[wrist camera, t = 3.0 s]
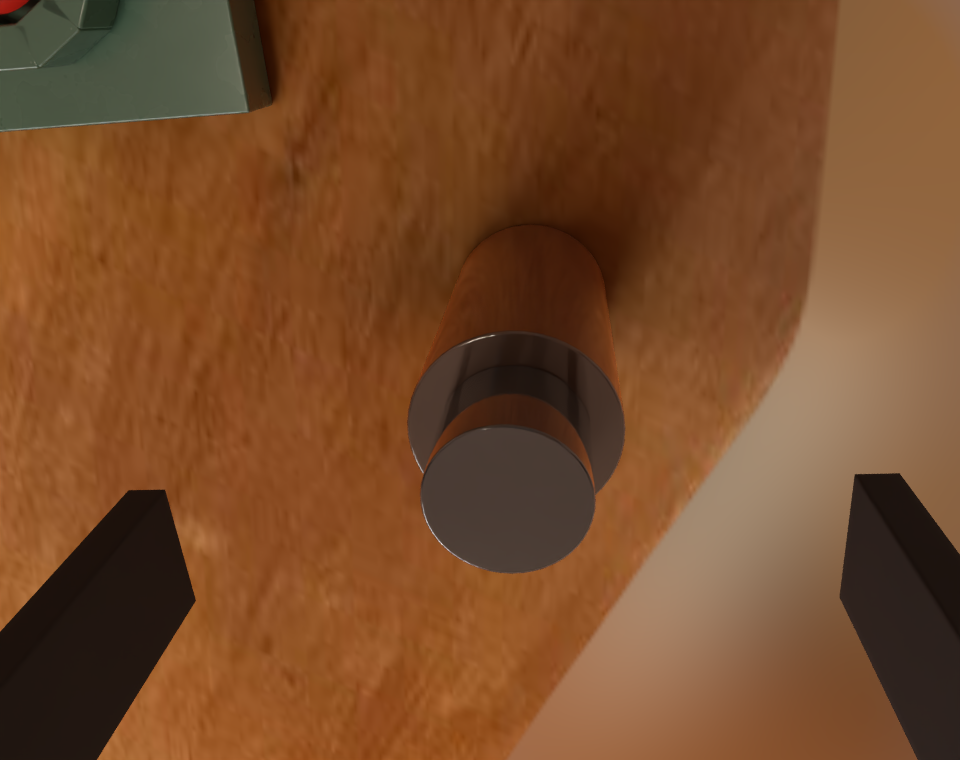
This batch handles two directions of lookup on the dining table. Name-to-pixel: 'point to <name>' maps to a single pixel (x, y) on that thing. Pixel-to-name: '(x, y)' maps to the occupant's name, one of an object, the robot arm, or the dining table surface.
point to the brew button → (11, 5)
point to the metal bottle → (518, 403)
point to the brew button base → (128, 62)
